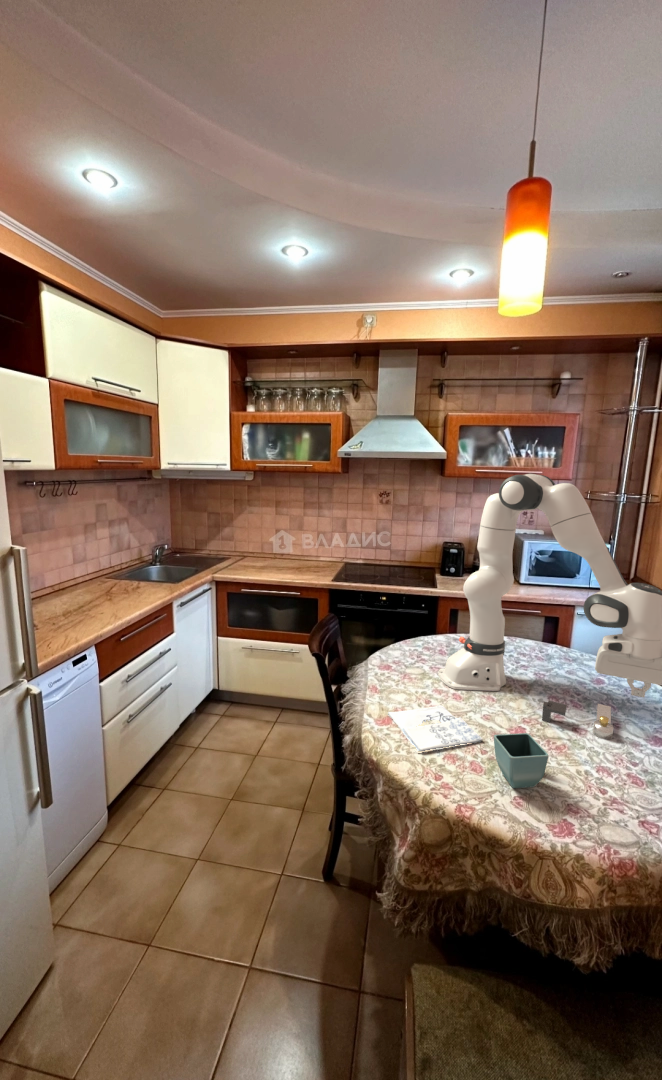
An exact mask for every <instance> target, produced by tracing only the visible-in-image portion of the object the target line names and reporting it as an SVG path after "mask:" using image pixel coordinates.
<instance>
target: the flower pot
mask: <svg viewBox="0 0 662 1080" xmlns="http://www.w3.org/2000/svg"><path fill="white" fill-rule="evenodd" d="M493 745H494V754H495V755H494V756H495V759H496V763H497V766H498V769H499V770H500V772H501V773H502V775H503V777H504V778H505V779H506V780H507V782H508V784H509V785H510V787H511V788H512V789H522V788H534V787H536V786H538V784H539V783H540V782H541V781H542V779H543V778H544V775H545V772H546V769H547V763H548V760H549V757H550V755H549V753H548V752H547V751H546V750H545V749H544V748H543V747H542V746H541V745H540V744H539V743H538V742H537V741H536V740H535V738H533V736H532V735H531V734H530V733H528V732H525V733H524V732H523V733H521V732H520V733H508V734H506V733H505V734H504V733H503V734H494V735H493Z"/></svg>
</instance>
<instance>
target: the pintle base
mask: <svg viewBox="0 0 662 1080" xmlns="http://www.w3.org/2000/svg"><path fill="white" fill-rule="evenodd" d="M567 707H568V706H567V704H566V703H565V704H564V703H560V702H557V701H552V700H548V702H547V701H544V702H543V704H542V714H541V721H542V722H545V723H550V724H551V719H552V713H553V714H558V715H560V716H565V717H566V714H567V713H566V712H567ZM608 721H609V718H608V717H605V716H600V720H599V723H600V724H601V725H605V726H607V725H608Z"/></svg>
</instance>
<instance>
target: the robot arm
mask: <svg viewBox="0 0 662 1080" xmlns="http://www.w3.org/2000/svg"><path fill="white" fill-rule="evenodd" d="M498 489H499V490H498V492H497V493H494V494H491V495H489V496H488V497H487V498H486V501H485V504H484V507H483V511H482V513H481V519H480V523H479V524H480V525H479V530H478V538H477V539H478V540H477V546H476V549H477V551H478V555H479V569H478V570H475V572H472V573H471V574H469V576H468V577H467V578H466V580H465V581H464V583H463V587H462V589H463V594H464V597H465V598H466V599H467V603H468V609H469V615H470V616H469V617H470V619H469V635H468V637H467V638H465V637H464V636H459V638H458V641H459V642H460V644H462V645H463V646H462V648H460V649H459V650H458V651H456V652H454V653H453V654H451V655H450V656H449V657H448V658H447V660H446V661H445V662H446V663H445V666H444V667H443V668H439V670H438V673H437V674H438V678H439V679H440V680H441V681H442V683H444V685H446V686H447V687H449V688H451V689H453V690H460V691H461V690H465V691H467V690H468V691H490V692H492V691H493V692H499V691H500V690H501V688H503V686H504V685H506V684H507V678H506V673H505V667H504V666H505V665H504V656H505V651H506V650H505V648H506V646H505V645H506V641H505V626H506V625H505V624H506V618H505V616H504V614H503V607H502V599H503V596H505V595H507V594H508V593H509V592H510V590H511V589H512V587H513V585H514V582H515V577H514V573H513V572H514V571H513V570H514V568H513V565H514V564H513V553H514V551H513V549H514V543H515V537H516V533H517V532H516V531H517V530H516V529H517V523H518V518H519V516H520V514H521V513H523V512H524V511H526V512H527V511H535V510H540V511H541V512H542V513H544V515H545V517H546V519H547V522H548V524H549V527H550V529H551V532H552V534H553V536H554V538H555V540H556V541H557V543H558V544H559V546H560V547H561V548H563V549H564V550H566V551H567V552H572V553H574V554H576V555H578V556H579V557H582V558H583V559H584V560H585V561H586V562H587V564H588V566H589V567H590V569H591V571H592V573H593V575H594V577H595V579H596V581H597V583H598V586H599V589H600V590H599V591H597V592H595V593H593V594H591V595H589V596H588V597H587V598H586V599H585V600H584V603H583V613H584V615H585V617H586V618H587V620H588V621H589V622H590V623H591V624H593V625H595V626H597V627H602V628H608V629H609V628H611V629H621V630H622V633H617V634H608V635H604V636H603V638H602V641H601V642H602V643H601V645H600V647H598V650H597V654H596V658H595V663H594V670H595V672H596V673H598V674H601V675H605V676H611V677H616V678H623V679H626V681H627V684H628V686H629V688H630V690H631V691H630V695H631V696H635V697H638V698H639V697H640V698H644V699H645V696H646V692H647V691H649V689H650V688H651V687H652V685H653V684H654V685H660V686H662V590H661V589H660V588H658V587H656V586H654V585H651V584H648V583H644V582H632V583H629V584H628V583H627V581H626V580H625V579H624V577H623V575H622V573H621V571H620V569H619V567H618V564H617V563H616V561H615V559H614V557H613V555H612V553H611V552H610V549H609V548H608V546H607V545H606V543H605V541H604V539H603V537H602V535H601V533H600V529H599V528H598V525H597V523H596V521H595V518H594V516H593V514H592V512H591V509H590V507H589V505H588V503H587V501H586V500H585V498H584V495H582V493H581V492H580V490H579V488H578V487H577V486H576V485H574V484H572V483H569V482H562V483H557V484H556V482H555V481H553V479H551V478H550V477H548V476H546V475H544V474H537V473H536V474H535V473H526V474H515V475H512V476H510V477H508V478H506V479H505V480H504V481H503V482H502V483H501V485H500V486H499V488H498ZM635 681H637V682H642V683H643V686H642V688H639V687H637V686H636V687H635V685H634V683H635Z"/></svg>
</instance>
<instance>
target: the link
mask: <svg viewBox="0 0 662 1080" xmlns="http://www.w3.org/2000/svg"><path fill="white" fill-rule="evenodd" d="M600 716H605V717H608V718H609V721H608V725H607V726H605V725H601V724H600V723H599V720H600ZM611 721H612V707H611V706H609V705H605V704H601V703H597V709H596V720H594V721H593V728H592V734H593V735H594V736H596V737H597V738H600V739H601V740H612V739H613V735H614V725H613V724H612V722H611Z"/></svg>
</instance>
